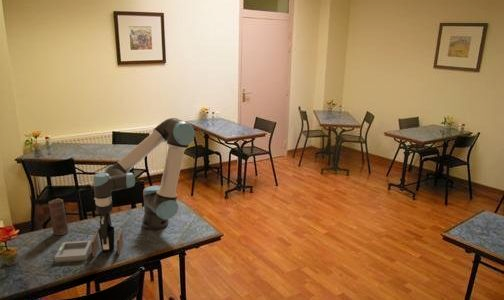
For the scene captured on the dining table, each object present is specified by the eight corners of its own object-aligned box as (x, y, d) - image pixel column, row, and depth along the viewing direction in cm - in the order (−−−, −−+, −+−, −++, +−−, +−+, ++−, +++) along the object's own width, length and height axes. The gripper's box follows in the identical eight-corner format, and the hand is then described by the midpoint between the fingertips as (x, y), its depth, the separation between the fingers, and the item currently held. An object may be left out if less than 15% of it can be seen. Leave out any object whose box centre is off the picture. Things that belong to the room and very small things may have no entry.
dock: (92, 245, 196) (91, 239, 195) (86, 260, 183) (85, 254, 182) (63, 247, 193) (62, 241, 192) (55, 262, 180) (54, 256, 179)
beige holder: (122, 244, 198) (121, 230, 195) (120, 254, 188) (118, 240, 186) (97, 246, 195) (95, 232, 193) (92, 256, 186) (91, 242, 184)
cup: (110, 255, 187) (108, 233, 184) (97, 253, 189) (94, 232, 185) (119, 247, 195) (117, 226, 191) (105, 245, 196) (103, 224, 193)
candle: (55, 237, 202) (50, 204, 196) (51, 232, 207) (46, 199, 202) (70, 233, 207) (65, 200, 201) (66, 228, 212) (61, 196, 207)
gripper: (99, 195, 193) (103, 235, 200) (91, 213, 174) (95, 256, 180) (115, 195, 195) (118, 234, 201) (107, 212, 175) (111, 255, 182)
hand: (107, 244), depth 191 cm, fingers closed on cup, 8 cm apart
